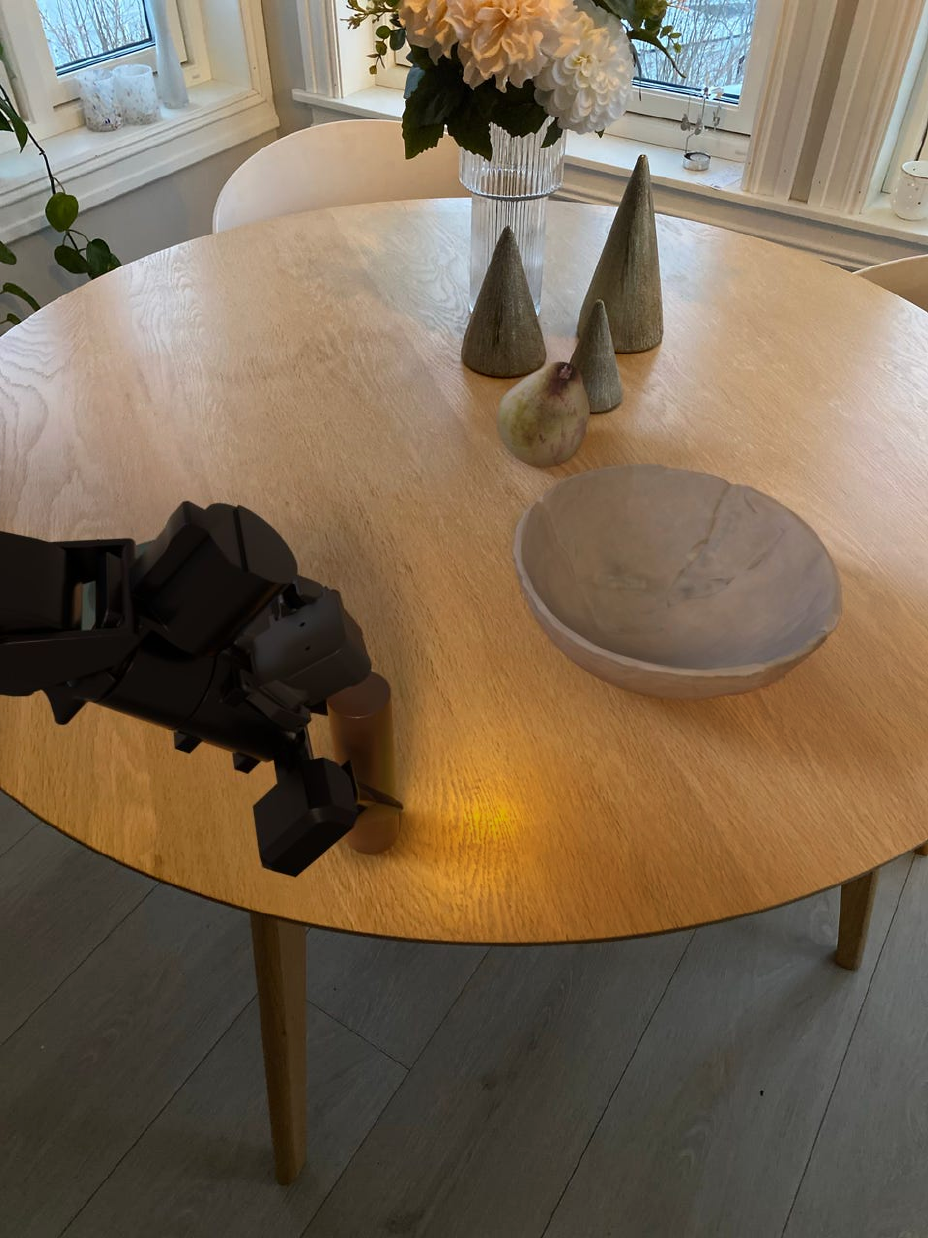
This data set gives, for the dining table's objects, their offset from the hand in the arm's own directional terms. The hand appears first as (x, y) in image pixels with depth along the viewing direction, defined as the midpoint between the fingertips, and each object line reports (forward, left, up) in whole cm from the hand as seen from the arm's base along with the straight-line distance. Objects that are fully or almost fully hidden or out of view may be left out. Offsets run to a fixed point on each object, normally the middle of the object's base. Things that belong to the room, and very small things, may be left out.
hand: (385, 761), depth 64 cm
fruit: (+35, +35, -8) cm, 50 cm away
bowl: (+29, +6, -8) cm, 30 cm away
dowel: (-1, 0, -8) cm, 8 cm away
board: (-9, +31, -8) cm, 34 cm away
